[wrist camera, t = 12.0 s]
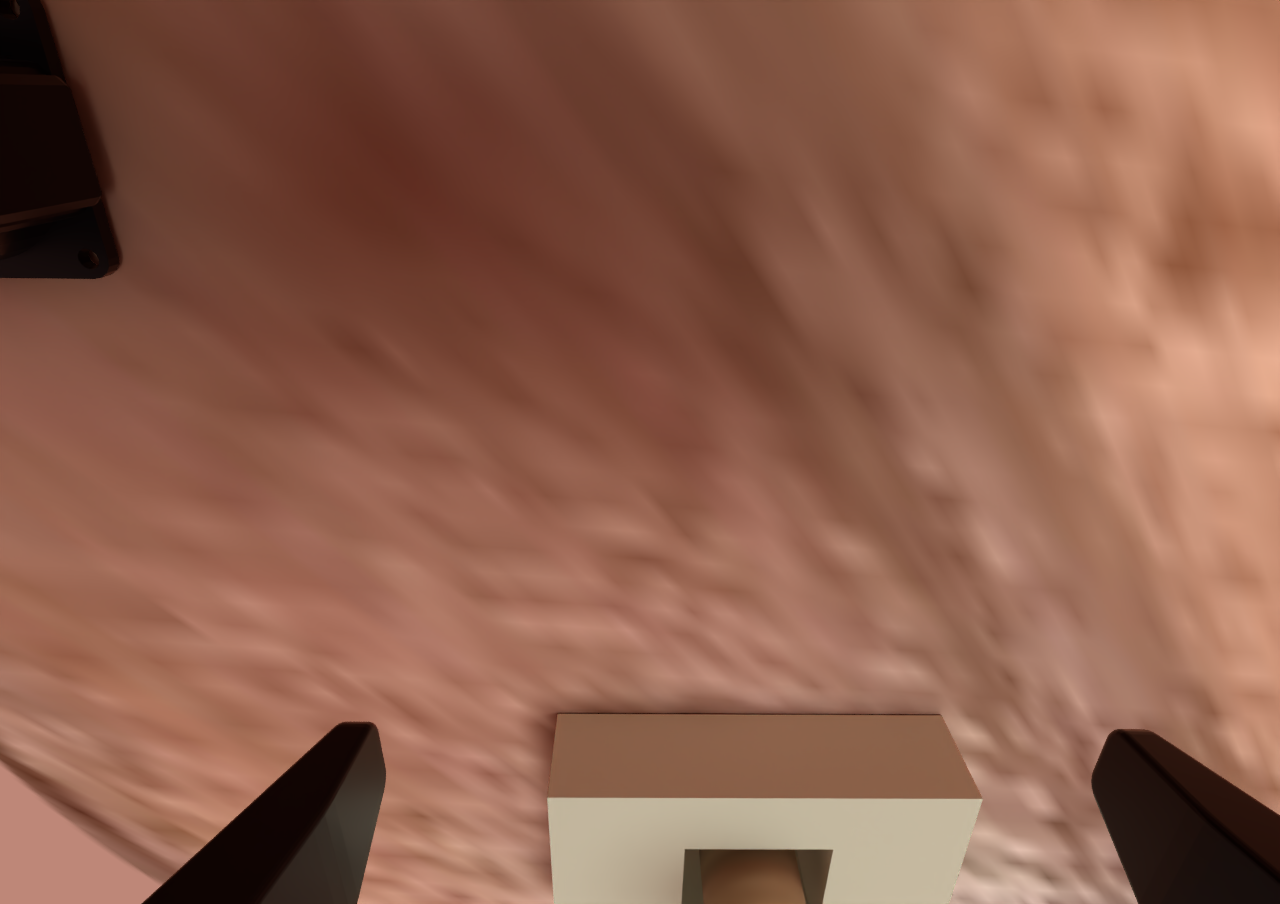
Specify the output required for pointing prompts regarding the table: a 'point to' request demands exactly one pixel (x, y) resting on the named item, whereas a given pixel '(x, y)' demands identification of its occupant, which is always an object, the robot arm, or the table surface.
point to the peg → (750, 876)
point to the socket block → (758, 804)
